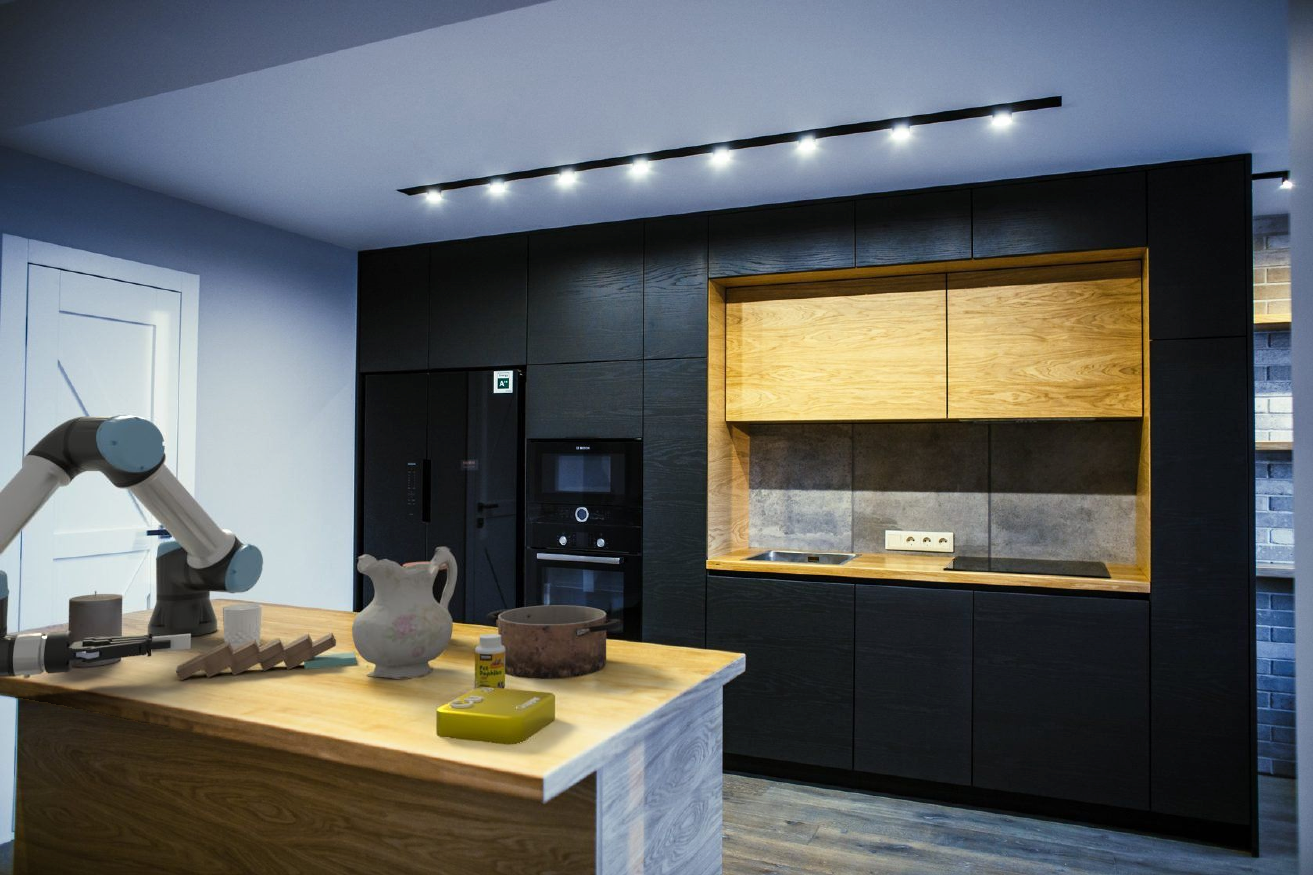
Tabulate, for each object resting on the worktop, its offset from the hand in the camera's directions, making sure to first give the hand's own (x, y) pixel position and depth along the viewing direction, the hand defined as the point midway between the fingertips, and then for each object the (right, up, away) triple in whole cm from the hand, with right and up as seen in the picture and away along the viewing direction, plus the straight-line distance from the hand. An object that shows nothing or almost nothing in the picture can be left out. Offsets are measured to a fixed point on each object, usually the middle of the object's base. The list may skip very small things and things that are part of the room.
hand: (190, 641), depth 171 cm
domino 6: (+19, -7, +9) cm, 22 cm away
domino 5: (+16, -6, +8) cm, 19 cm away
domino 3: (+7, -6, +3) cm, 10 cm away
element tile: (+66, -7, -31) cm, 74 cm away
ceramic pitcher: (+42, -7, +4) cm, 42 cm away
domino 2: (+3, -6, +1) cm, 7 cm away
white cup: (0, -8, +22) cm, 23 cm away
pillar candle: (-27, -8, +12) cm, 30 cm away
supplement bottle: (+61, -7, -10) cm, 62 cm away
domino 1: (-2, -6, -1) cm, 6 cm away
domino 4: (+11, -6, +6) cm, 14 cm away
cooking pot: (+70, -8, +9) cm, 71 cm away
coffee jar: (+37, -8, +34) cm, 51 cm away
